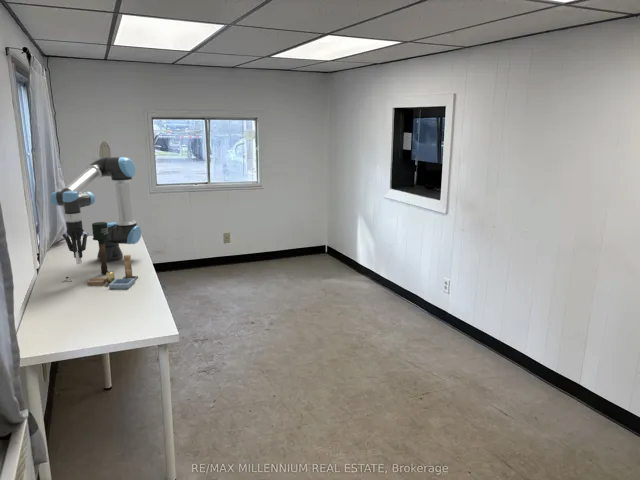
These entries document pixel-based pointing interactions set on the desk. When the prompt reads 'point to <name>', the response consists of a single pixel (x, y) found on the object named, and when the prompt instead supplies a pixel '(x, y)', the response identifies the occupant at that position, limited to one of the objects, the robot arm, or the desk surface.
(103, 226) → the stick grenade
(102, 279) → the flat cardboard box
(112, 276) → the cylinder
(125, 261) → the dowel
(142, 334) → the desk surface
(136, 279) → the holder
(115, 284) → the tray
